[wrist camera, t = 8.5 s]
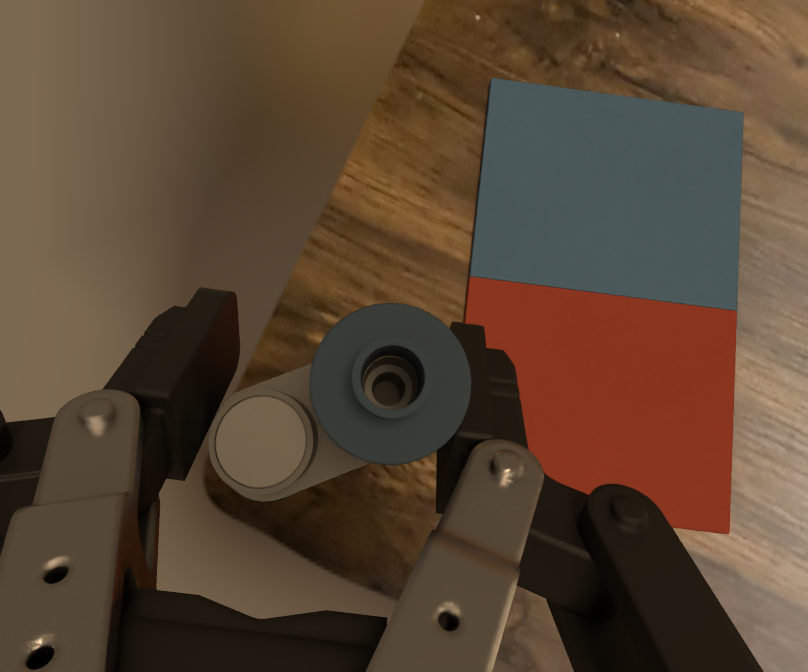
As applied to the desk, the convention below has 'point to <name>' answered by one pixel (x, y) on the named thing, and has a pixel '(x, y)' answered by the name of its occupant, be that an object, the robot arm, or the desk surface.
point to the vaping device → (346, 405)
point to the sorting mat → (615, 287)
